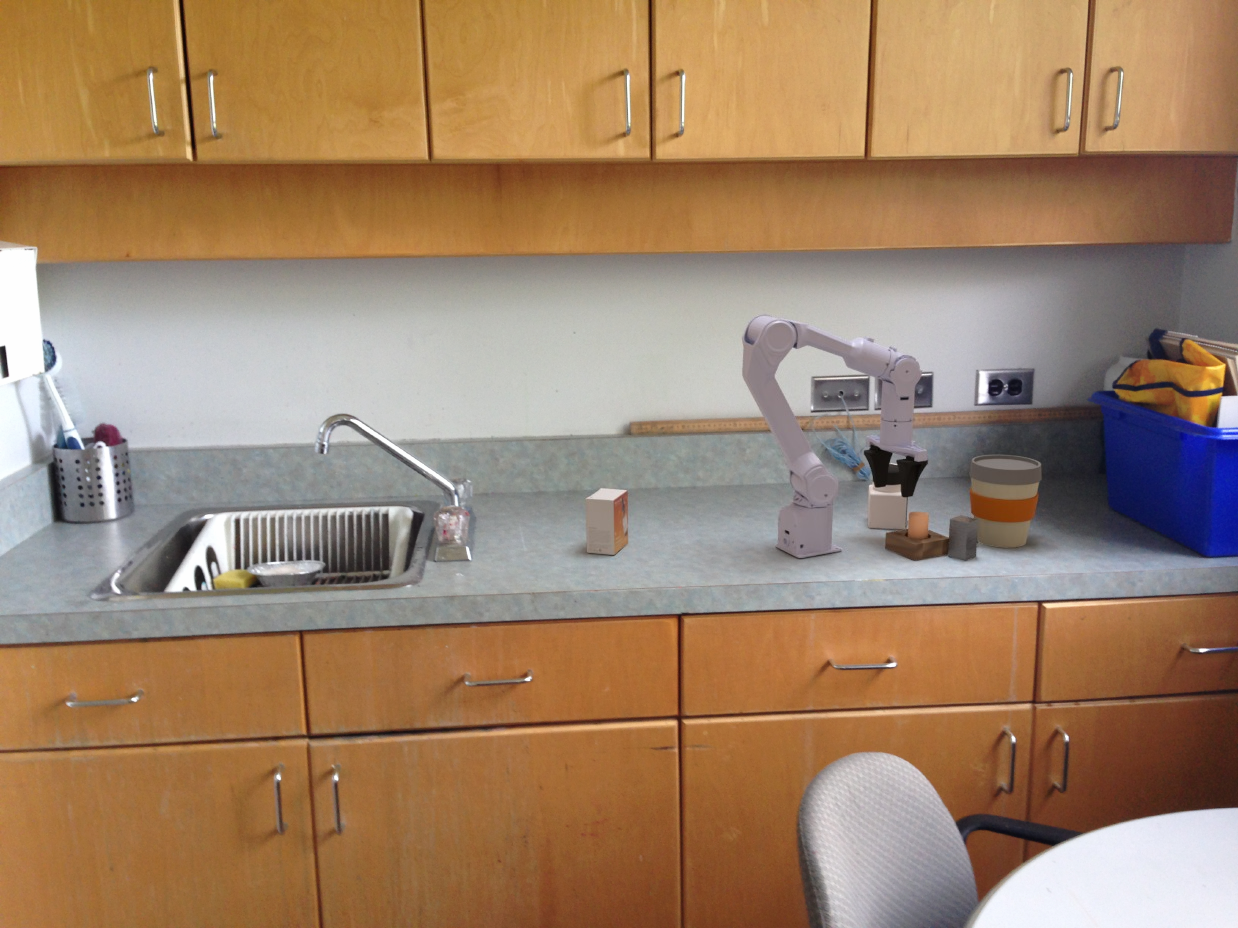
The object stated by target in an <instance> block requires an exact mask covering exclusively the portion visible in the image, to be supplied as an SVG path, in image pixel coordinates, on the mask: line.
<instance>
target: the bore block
mask: <svg viewBox="0 0 1238 928" xmlns="http://www.w3.org/2000/svg"><path fill="white" fill-rule="evenodd" d="M948 543H949V536H946V535H943V534H942V533H941V534H940V533H938V532H935V531H932V530H930V529H928V539H911V538H909V537H908V528H906V529H904V530H900V529H897V530H893V531H888V532H887V531H886V532H885V544H884V548H885V549H886V550H889V551H890V552H892V553H896V554H898V555H900V556H902V557H904V558H906V559H909V560H912V561H914V562H915V561H921V560H928V559H931V558H936V557H941V556H948Z"/></svg>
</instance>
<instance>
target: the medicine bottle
mask: <svg viewBox="0 0 1238 928" xmlns="http://www.w3.org/2000/svg"><path fill="white" fill-rule="evenodd" d="M867 496H868V499H867V525H868V528H869V529H882V530H904V529H907V522H908V521H907V519H908V518H907V517H908V503H909V502H908V500H909V497H905V498H904V497H902V495H901V479H900V472H899V468H898V465H897V463H892V462H890V464H889V468H888V477H887V483H886V487H880V488H876V487H875V486H874V481H873V480H872V484H869V485H868V495H867Z"/></svg>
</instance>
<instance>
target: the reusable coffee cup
mask: <svg viewBox="0 0 1238 928" xmlns="http://www.w3.org/2000/svg"><path fill="white" fill-rule="evenodd" d="M968 476H969V477H970V480H971V487H970V488H969V499H970V501H969V502H970V513H971V514H972V515H973V518H976V519H979V521H978V536H977V543H980V544H982V545H985V546H988V547H989V546H990V547H997V548H1008V549H1009V548H1018V547H1022V546H1024V545H1026V544H1027V539H1028V534H1029V529H1030V525H1031V521H1032V520H1033V519H1034V517H1035V515H1036V514H1035V513H1036V510H1037V509H1036V508H1037V503H1038V500H1039V496H1040V495H1039V492H1038V489H1039V485H1040V482H1041V481H1042V479H1043V478H1042V463H1041V462H1040V461H1038V460H1036V459H1034V458H1030V457H1026V456H1025V457H1024V456H1018V455H1010V454H985V455H978V456H974V457H973V458H971V462H970V467H969V473H968Z"/></svg>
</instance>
